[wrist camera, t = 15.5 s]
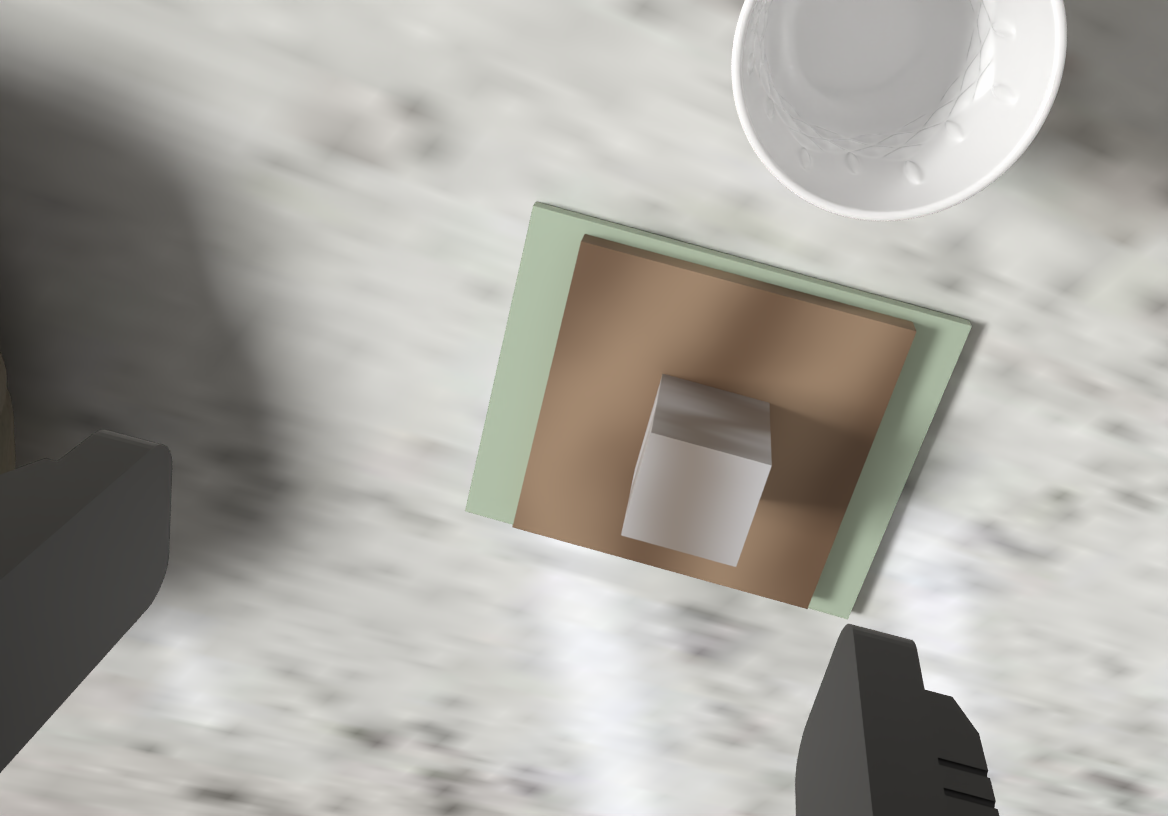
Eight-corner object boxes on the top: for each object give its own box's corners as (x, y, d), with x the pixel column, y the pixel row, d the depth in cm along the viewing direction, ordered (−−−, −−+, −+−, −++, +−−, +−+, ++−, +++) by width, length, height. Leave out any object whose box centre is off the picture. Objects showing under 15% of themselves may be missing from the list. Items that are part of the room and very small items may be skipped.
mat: (968, 320, 39) (971, 326, 39) (846, 610, 45) (847, 619, 44) (536, 201, 40) (533, 205, 39) (468, 503, 45) (465, 511, 45)
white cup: (774, 178, 38) (782, 260, 29) (705, -54, 35) (690, -44, 26) (1009, 102, 36) (1095, 164, 27) (955, -150, 33) (1031, -175, 24)
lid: (912, 321, 39) (938, 387, 33) (806, 594, 44) (814, 690, 39) (584, 233, 39) (557, 285, 34) (517, 514, 44) (484, 598, 39)
